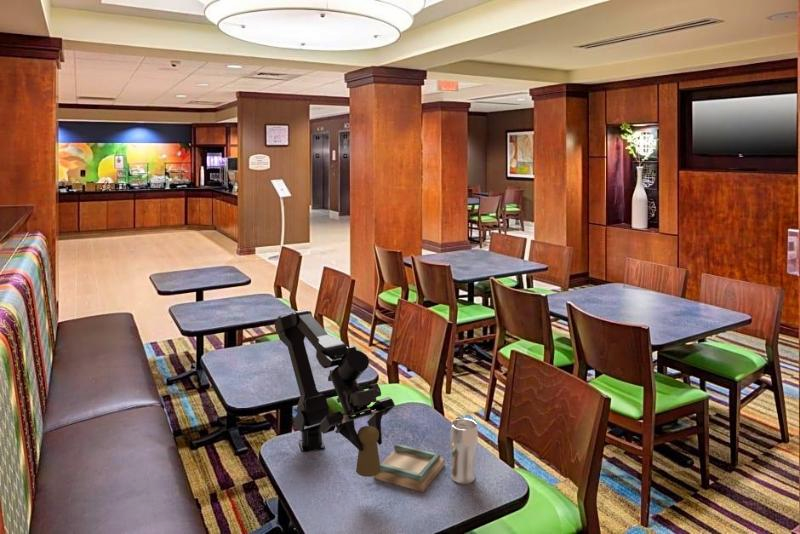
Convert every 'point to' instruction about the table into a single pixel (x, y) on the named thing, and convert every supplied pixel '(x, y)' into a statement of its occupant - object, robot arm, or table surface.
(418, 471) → the dock
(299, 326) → the robot arm
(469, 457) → the silver metal tumbler
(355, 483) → the table surface
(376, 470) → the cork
